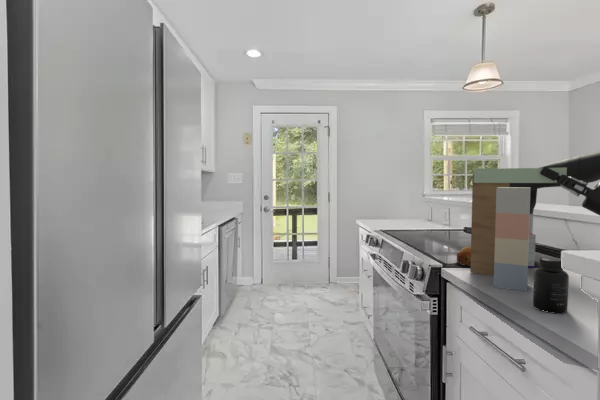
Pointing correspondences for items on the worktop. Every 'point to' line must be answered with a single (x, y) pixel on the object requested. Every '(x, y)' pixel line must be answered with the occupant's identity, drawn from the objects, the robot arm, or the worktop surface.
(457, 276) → the worktop surface
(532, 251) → the supplement box
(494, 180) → the long brick
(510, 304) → the worktop surface
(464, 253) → the bread roll
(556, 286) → the supplement bottle
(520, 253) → the brick tower
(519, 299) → the worktop surface
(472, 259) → the walnut stand
